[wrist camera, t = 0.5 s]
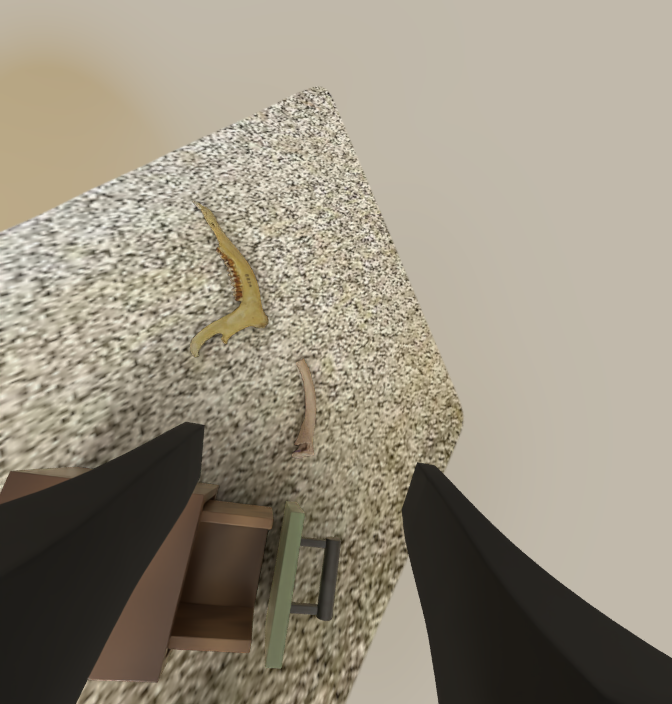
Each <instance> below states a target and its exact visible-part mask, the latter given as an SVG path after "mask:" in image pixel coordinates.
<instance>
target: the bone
mask: <svg viewBox="0 0 672 704" xmlns="http://www.w3.org/2000/svg"><path fill="white" fill-rule="evenodd" d="M296 365H297V366H298V368H299V370H300V373H301V375H302V379H303V382H304V389H305V403H306V410H305V419H304V421H303V423H302V425H301V430H300V432H299V435H298V438H297V440H296V442H295V444H294V445H296V446H297V445H299V448H298V449H297V450H296V451H294V452H293V454H292V457H293V458H302V457H305V456H311V455H314V451H313V435H314V428H315V418H316V397H315V390H314V384H313V381H312V378H311V373H310V370H309V368H308V366H307V364H306V362H305V360H304V359H302V360H300V361H298V362H296Z"/></svg>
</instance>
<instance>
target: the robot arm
mask: <svg viewBox="0 0 672 704" xmlns="http://www.w3.org/2000/svg"><path fill="white" fill-rule="evenodd" d="M204 427H205V425H201V424H196V423H190V422H185V423H183V424H180V425H179V426H177V427H175V428H173V429H171V430H169V431H167V432H166V433H164V434H162V435H160V436H158V437H156V438H155V439H153V440H151V441H149V442H147V443H145V444H143V445H141V446H139V447H137V448H136V449H134V450H132V451H130V452H128V453H126V454H124V455H122V456H120V457H117V458H115V459H113V460H111V461H109V462H107V463H105V464H103V465H101V466H99V467H97V468H94V469H92V470H90V471H88V472H85V473H83V474H81V475H78V476H76V477H74V478H71V479H69V480H66V481H64V482H61V483H59V484H56V485H54V486H51V487H49V488H46V489H43V490H41V491H38V492H35V493H32V494H29V495H26V496H23V497H20V498H17V499H14V500H11V501H8V502H5V503H2V504H0V704H76V703H77V700H78V698H79V696H80V694H81V692H82V690H83V688H84V686H85V684H86V682H87V680H88V678H89V676H90V674H91V672H92V670H93V668H94V666H95V664H96V662H97V660H98V658H99V656H100V654H101V652H102V650H103V648H104V646H105V644H106V642H107V640H108V638H109V636H110V634H111V632H112V630H113V628H114V627H115V625H116V623H117V621H118V619H119V617H120V615H121V613H122V611H123V609H124V607H125V605H126V604H127V602H128V600H129V598H130V596H131V594H132V592H133V590H134V589H135V587H136V585H137V584H138V582H139V580H140V579H141V577H142V575H143V574H144V572H145V570H146V569H147V567H148V566H149V564H150V563H151V561H152V559H153V558H154V556H155V555H156V553H157V552H158V550H159V548H160V547H161V545H162V544H163V542H164V540H165V539H166V537H167V536H168V534H169V533H170V531H171V529H172V528H173V526H174V525H175V523H176V522H177V520H178V518H179V517H180V515H181V514H182V512H183V510H184V509H185V507H186V505H187V503H188V501H189V499H190V497H191V495H192V493H193V491H194V489H195V487H196V485H197V482H198V480H199V478H200V474H201V462H202V450H203V438H204ZM402 518H403V527H404V534H405V541H406V546H407V550H408V554H409V558H410V562H411V566H412V570H413V574H414V578H415V582H416V586H417V590H418V594H419V598H420V602H421V606H422V610H423V614H424V618H425V623H426V628H427V633H428V637H429V644H430V649H431V656H432V663H433V669H434V675H435V682H436V688H437V696H438V703H439V704H672V658H671V657H669V656H668V655H666V654H664V653H663V652H661V651H659V650H658V649H656V648H654V647H653V646H651V645H650V644H648V643H646V642H645V641H643V640H642V639H640V638H639V637H637V636H636V635H634V634H633V633H631V632H630V631H628V630H627V629H625V628H624V627H622V626H620V625H619V624H617V623H616V622H615V621H613V620H612V619H610V618H609V617H607V616H606V615H604V614H603V613H601V612H600V611H599V610H597V609H596V608H594V607H593V606H591V605H590V604H589V603H587V602H586V601H585V600H583V599H582V598H581V597H579V596H578V595H576V594H575V593H574V592H572V591H571V590H570V589H568V588H567V587H565V586H564V585H563V584H562V583H560V582H559V581H558V580H556V579H555V578H554V577H553V576H551V575H550V574H549V573H548V572H546V571H545V570H544V569H543V568H541V567H540V566H539V565H538V564H536V563H535V562H534V561H533V560H532V559H531V558H529V557H528V556H527V555H526V554H525V553H523V552H522V551H521V550H520V549H519V548H518V547H516V546H515V545H514V544H513V543H512V542H511V541H510V540H509V539H508V538H506V536H505V535H503V534H502V533H501V532H500V531H499V530H498V529H497V528H496V527H495V526H494V525H493V524H492V523H491V522H490V521H489V520H488V519H487V518H486V517H485V516H484V515H483V514H482V513H481V512H480V511H478V509H477V508H475V506H474V505H473V504H472V503H471V502H470V501H469V500H468V499H467V498H466V497H465V496H464V495H463V494H462V493H461V492H460V491H459V490H458V489H457V488H456V486H455V485H453V483H452V482H451V481H450V480H449V479H448V478H447V477H446V476H445V475H444V474H443V473H442V472H441V471H440V470H439V469H438V468H437V467H436V466H435V465H429V464H424V463H418V462H417V465H416V468H415V471H414V474H413V477H412V480H411V483H410V486H409V489H408V492H407V495H406V498H405V501H404V504H403V507H402Z"/></svg>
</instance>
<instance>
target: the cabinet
mask: <svg viewBox="0 0 672 704" xmlns="http://www.w3.org/2000/svg"><path fill="white" fill-rule="evenodd" d="M90 470H92V469H90V468H82V467H64V468H48V469H33V470H17V471H10V473H9V475H8V477H7V480H6V482H5V484H4V486H3V489H2V491H1V493H0V504H2V503H5V502H8V501H11V500H14V499H17V498H20V497H23V496H26V495H29V494H32V493H35V492H38V491H41V490H43V489H46V488H49V487H51V486H54V485H56V484H59V483H61V482H64V481H66V480H69V479H71V478H74V477H76V476H78V475H81V474H83V473H85V472H88V471H90ZM218 488H219V485H215V484H207V483H199V482H197V485H196V487H195V489H194V491H193V493H192V495H191V497H190V499H189V501H188V503H187V505H186V507H185V509H184V510H183V512H182V514H181V515H180V517H179V518H178V520H177V522H176V523H175V525H174V526H173V528H172V529H171V531H170V533H169V534H168V536H167V537H166V539H165V540H164V542H163V544H162V545H161V547H160V548H159V550H158V552H157V553H156V555H155V556H154V558H153V559H152V561H151V563H150V564H149V566H148V567H147V569H146V570H145V572H144V574H143V575H142V577H141V579H140V580H139V582H138V584H137V585H136V587H135V589H134V590H133V592H132V594H131V596H130V598H129V600H128V602H127V604H126V605H125V607H124V609H123V611H122V613H121V615H120V617H119V619H118V621H117V623H116V625H115V627H114V628H113V630H112V632H111V634H110V636H109V638H108V640H107V642H106V644H105V646H104V648H103V650H102V652H101V654H100V656H99V658H98V660H97V662H96V664H95V666H94V668H93V670H92V672H91V674H90V676H89V678H88V680H102V681H129V682H158V681H159V678H160V676H161V674H162V672H163V670H164V668H165V666H166V664H167V662H168V660H169V657H170V655H171V653H172V651H173V649H168V646H169V642H170V638H171V634H172V630H173V626H174V622H175V618H176V613H177V609H178V605H179V601H180V597H181V593H182V589H183V585H184V581H185V577H186V573H187V569H188V565H189V561H190V557H191V553H192V549H193V545H194V541H195V537H196V533H197V529H198V525H199V521H200V517H201V513H202V509H203V505H204V503H205V502H207V501H208V500H216V497H217V493H218Z"/></svg>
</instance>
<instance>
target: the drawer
mask: <svg viewBox="0 0 672 704" xmlns="http://www.w3.org/2000/svg"><path fill="white" fill-rule="evenodd" d="M304 517H305V513H304V512H303V510H302V509H301V507H300V506H299V504H298V503H297V502H291V501H286V505H285V510H284V516H283V522H282V528H281V534H280V540H279V545H278V551H277V557H276V563H275V569H274V574H273V580H272V586H271V592H270V598H269V603H268V609H267V615H266V621H265V667H266V668H281V667H282V661H283V655H284V648H285V642H286V635H287V628H288V622H289V615H290V613H296V614H310V615H316V617H317V618H318V619H320V620H324V621H329V620H331V619H332V615H333V606H334V598H335V589H336V580H337V572H338V563H339V554H340V546H341V539H339V538H336V537H326V540H325V539H315V538H306V537H302V530H303V523H304ZM272 525H273V512H272V507H265V506H257V505H249V504H241V503H232V502H224V501H216V500H208V501H207V502H205V503H204V505H203V509H202V513H201V517H200V521H199V525H198V529H197V533H196V537H195V541H194V545H193V549H192V553H191V557H190V561H189V565H188V569H187V573H186V577H185V581H184V585H183V589H182V593H181V597H180V601H179V605H178V609H177V613H176V618H175V622H174V626H173V630H172V634H171V638H170V642H169V646H168V649H178V650H198V651H217V652H237V653H249V652H250V647H251V642H252V629H253V615H254V606H255V600H256V595H257V589H258V584H259V578H260V573H261V567H262V562H263V557H264V551H265V546H266V540H267V535H268V529H272ZM300 546H308V547H318V548H325V550H324V558H323V566H322V573H321V581H320V589H319V596H318V604H309V603H296V602H292V596H293V589H294V582H295V576H296V569H297V563H298V556H299V550H300Z"/></svg>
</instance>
